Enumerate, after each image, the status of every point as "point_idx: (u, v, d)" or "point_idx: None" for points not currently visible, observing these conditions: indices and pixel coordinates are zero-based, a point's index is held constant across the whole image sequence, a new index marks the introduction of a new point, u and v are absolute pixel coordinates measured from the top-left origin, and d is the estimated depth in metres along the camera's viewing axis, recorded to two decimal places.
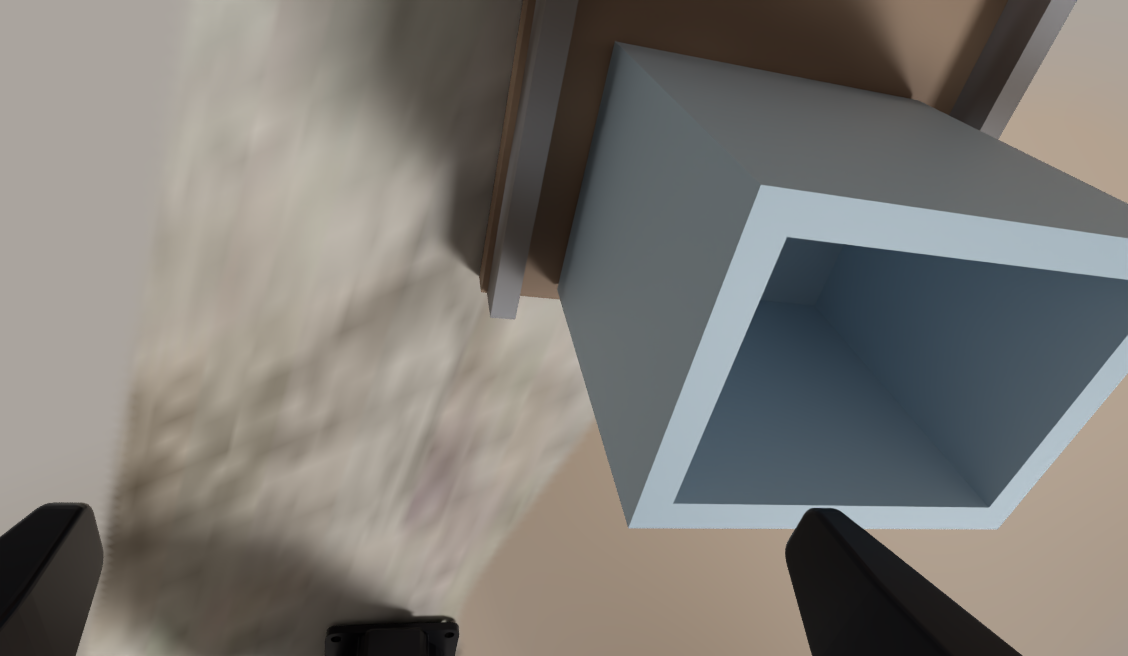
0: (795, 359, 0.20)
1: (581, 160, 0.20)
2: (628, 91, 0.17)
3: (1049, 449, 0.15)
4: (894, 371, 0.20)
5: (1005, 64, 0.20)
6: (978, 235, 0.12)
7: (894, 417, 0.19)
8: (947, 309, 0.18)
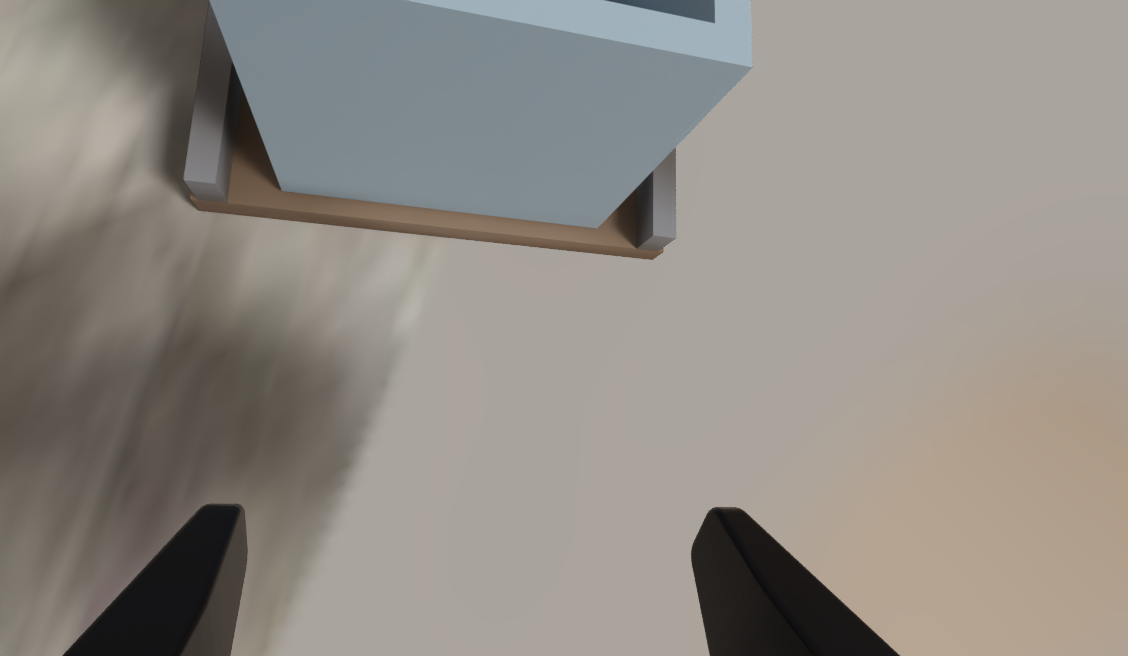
0: None
1: None
2: None
3: None
4: None
5: None
6: None
7: None
8: None
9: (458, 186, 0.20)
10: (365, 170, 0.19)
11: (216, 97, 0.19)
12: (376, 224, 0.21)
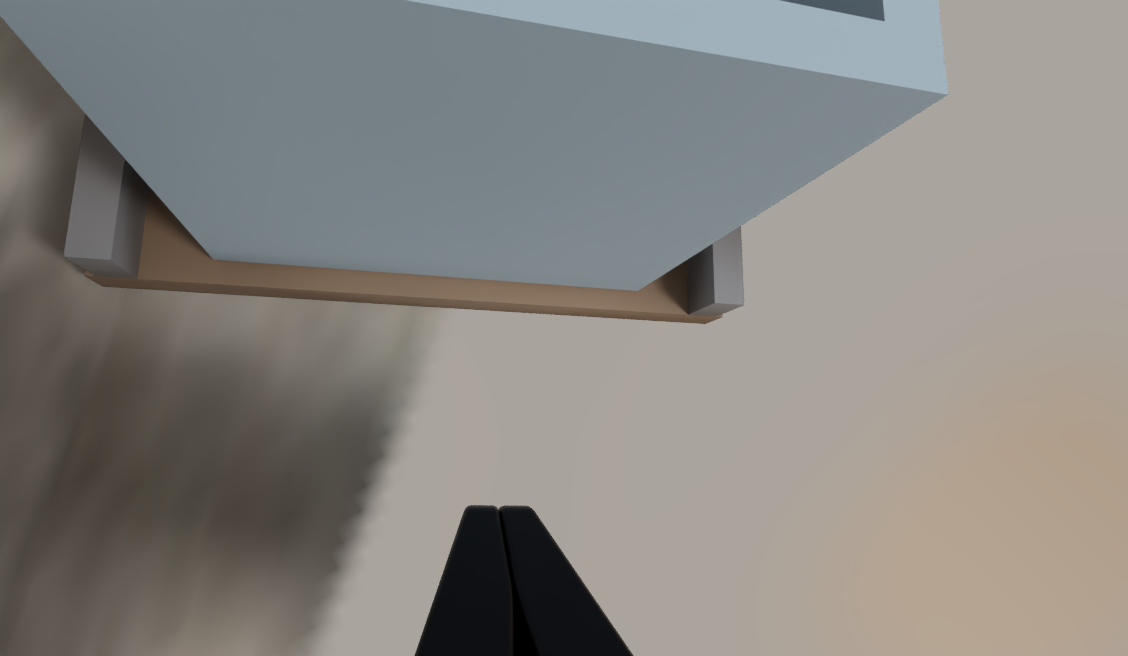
0: None
1: None
2: None
3: None
4: None
5: None
6: None
7: None
8: None
9: (454, 252, 0.14)
10: (322, 237, 0.13)
11: None
12: (346, 296, 0.16)
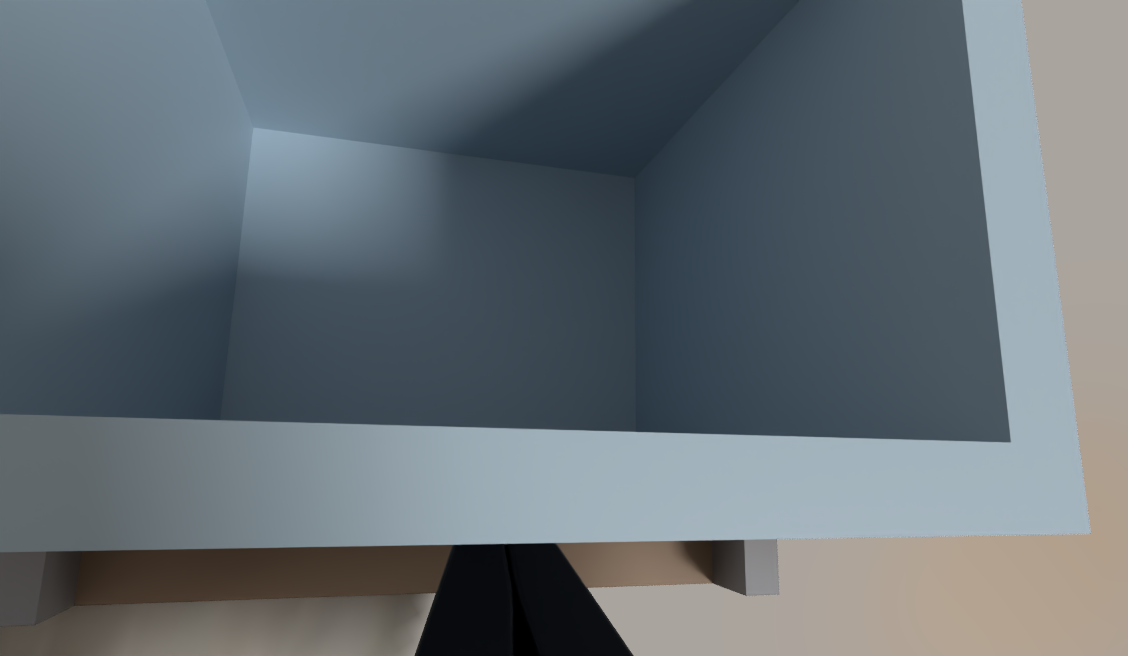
0: None
1: None
2: None
3: (1019, 236, 0.07)
4: (741, 410, 0.11)
5: None
6: None
7: None
8: (752, 248, 0.11)
9: None
10: None
11: None
12: (322, 592, 0.14)
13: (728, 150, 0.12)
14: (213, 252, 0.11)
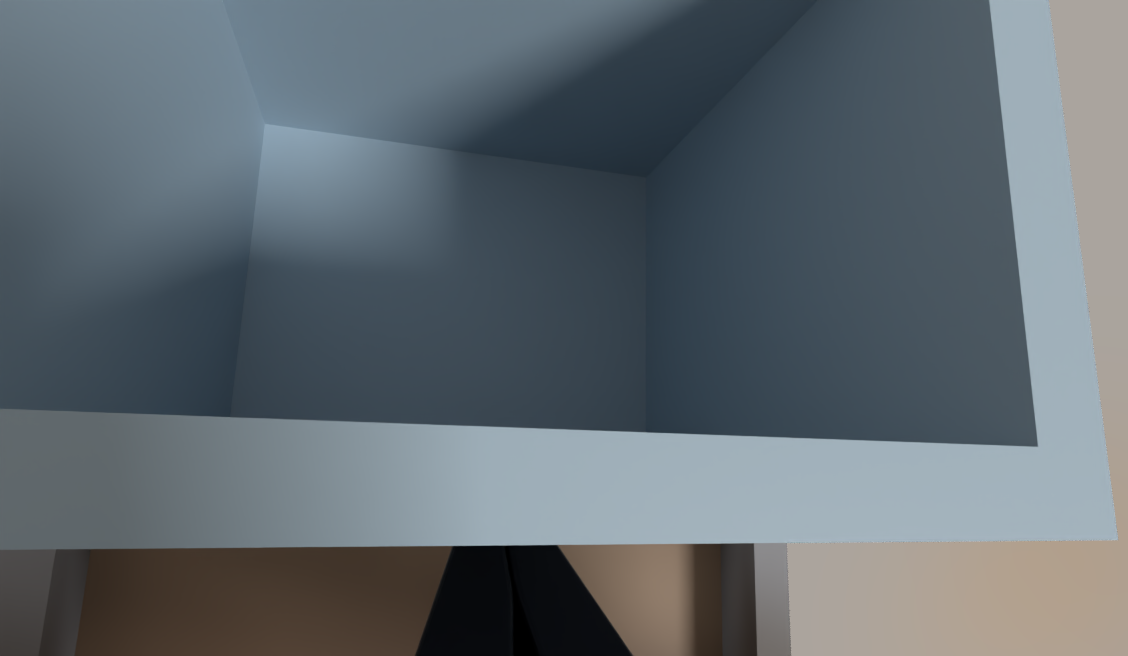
0: None
1: (169, 576, 0.13)
2: None
3: (1046, 238, 0.06)
4: (756, 412, 0.10)
5: None
6: None
7: None
8: (767, 248, 0.10)
9: None
10: None
11: None
12: None
13: (743, 150, 0.11)
14: (225, 248, 0.11)
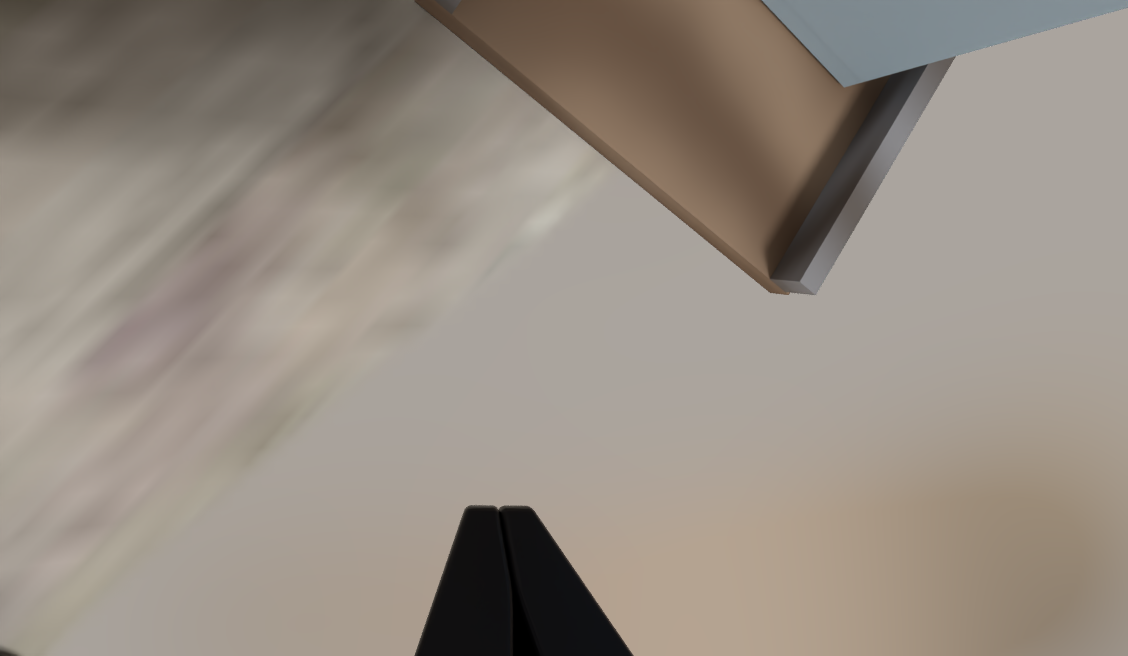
0: None
1: None
2: None
3: None
4: None
5: None
6: None
7: None
8: None
9: None
10: None
11: None
12: (568, 118, 0.20)
13: None
14: None
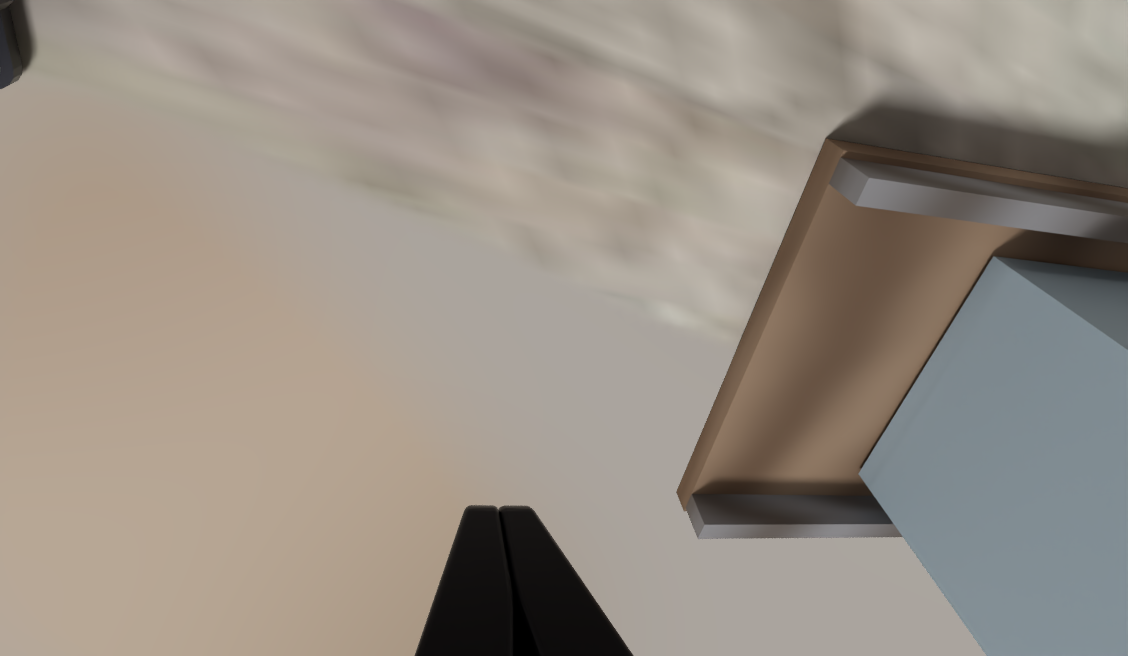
0: None
1: (945, 244, 0.21)
2: None
3: None
4: None
5: None
6: None
7: None
8: None
9: (954, 417, 0.23)
10: (1002, 361, 0.21)
11: (938, 207, 0.19)
12: (767, 301, 0.22)
13: None
14: None
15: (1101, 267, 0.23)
